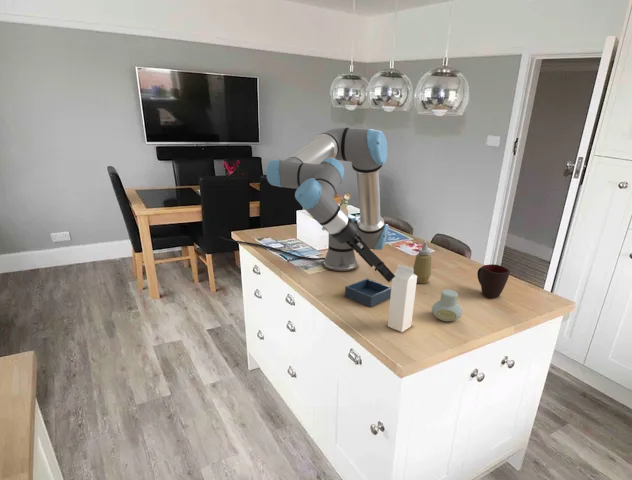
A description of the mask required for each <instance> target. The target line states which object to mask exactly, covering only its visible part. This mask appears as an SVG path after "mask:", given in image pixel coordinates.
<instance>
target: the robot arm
mask: <svg viewBox="0 0 632 480" xmlns="http://www.w3.org/2000/svg"><path fill="white" fill-rule="evenodd" d="M387 158H388V142H387V138H386V135H385V133H384V132H383V131H382V130H377V129H373V128H369V129H368V128H357V127H346V126H340V127H334V128H331V129H328V130H326V131H323V132H321V133H319V134H318V135H316V136H315V137H314V138H313V140H312V142H311V143H309V144H308V145H306V146H304V147H303V148H301V149H300V150H298V151H297V152H295V153H293V154H292V155H290V156H288V158H285V159H283V160H282V159H271V160H270V161H268V163H267V165H266V168H265V169H266V170H265V174H266V175H265V176H266V180H267V182H268V183H269V184H270V185H271V186H274V187H278V188H287V189H294V190H295V189H296V190H295V193H294V198H295V200H296V201H297V202H298V203H299V205H300V206H301V208H302V209H304V210H305V212H307V213H308V214H309V215H310V216H311V217H312V218H313V219H314V220H315V221H316V222H317V223H318V224H319V225H320V226H321V230H322V231H326V232H327V233H328V249H327V252H326V254H325V257H308V256H302V255H297V254H294V253H291V252H288V251H286V250H282V249H279V248H275V247H272V246H268V245H264V244H261V243H254V242H248V241H243V240H235V239H227V238H225V237H223V236H218V237H217V238H216V240H220V239H221V240H223V241H225V242H229V243H235V244H236V243H237V244H245V245H251V246H257V247H261V248H266V249H270V250H273V251H276V252H280V253H282V254H285V255H289V256H292V257H294V258H298V259H303V260H310V261H311V260H312V261H322V260H323V267H324V268H326V269H327V270H330V271H334V272H350V271H351V272H352V271H354V270H356V269H357V267H358V261H357V258H356V254H355V252H356V253H357V254H358V256H360V257H361V259H363V260H364V261H365V262H366V264H367V265H368V266H369V267H370V268H373V267H374V269H373V271H375V272H378V273H379V274H380V275H381V276H382V277H383V278H384V279H385V280H386V281H387V282H388V283H390V282H392V279H393V278H394V277H395V275H394V273H393V272H392V271H391V269H389V268H388V266H386V264H385V262H384V261H382V260H381V259H380V258H379V256H377V255H376V254H375V252H373V251H374V250H376V251H381V250H383V249H384V248H385V245H386V242H387V239H388V235H389V230H390V229H389V228H390V226H389V224H387V223H385V219H384V217H383V216H381V193H380V189H381V188H380V170H381V169H382V168H383V165H385V164H386V162H387ZM341 161H342V162H343V161H344V162H351V168H352V170H353V171H354V172H355V173H356V182H357V194H358V195H357V196H358V205H359V206H358V207H359V218H358V219H357V218H356V215H351V214H348V213H347V212H346V211H345V210H344V209H343V208H342V207H341V206H340V205H339V204H338V202H336V201H335V200H334V199H335V197H336V195H337V192H338V190H339V188H340V187H341V184H342V183H343V179H344V176H345V167H344V165H343V163H342V162H341ZM372 250H373V251H372Z"/></svg>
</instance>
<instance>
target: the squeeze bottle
mask: <svg viewBox="0 0 632 480" xmlns="http://www.w3.org/2000/svg"><path fill="white" fill-rule="evenodd" d="M412 268H413V269H414V272H413V273H414V274H415V275H417V283H418V284H427V283H428V281H429V279H430V277H431V276H432V255H431V250H430V249H429V248H428V241H424V242H423V244H422V247H421V248H419V249H418V253H417V254H416V255H415V259H414V264H413V267H412ZM417 283H416V284H417Z"/></svg>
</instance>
